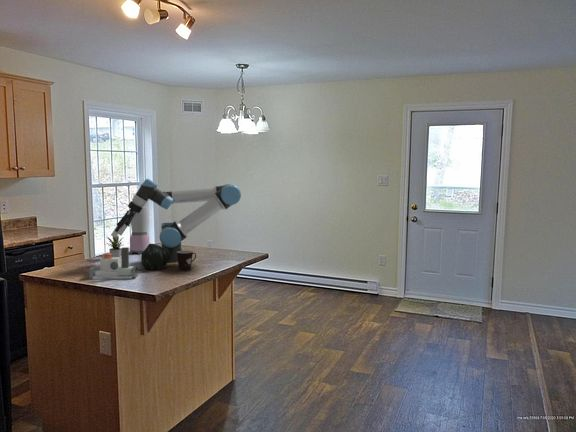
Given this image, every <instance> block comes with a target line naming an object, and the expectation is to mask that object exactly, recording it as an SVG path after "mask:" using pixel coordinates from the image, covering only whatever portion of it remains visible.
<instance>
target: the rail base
mask: <svg viewBox="0 0 576 432" xmlns="http://www.w3.org/2000/svg"><path fill="white" fill-rule="evenodd" d="M133 266H134V265H133ZM138 276H139V266H138V265H135V266H134V267H133V268H132V275H117V271H100V270H97V265H96V266H95V265H94V266H92V267H90V268H88V280H131V279H133V280H134V279H137V277H138Z"/></svg>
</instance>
